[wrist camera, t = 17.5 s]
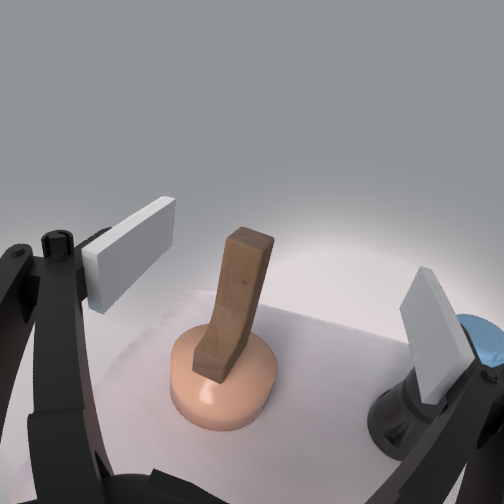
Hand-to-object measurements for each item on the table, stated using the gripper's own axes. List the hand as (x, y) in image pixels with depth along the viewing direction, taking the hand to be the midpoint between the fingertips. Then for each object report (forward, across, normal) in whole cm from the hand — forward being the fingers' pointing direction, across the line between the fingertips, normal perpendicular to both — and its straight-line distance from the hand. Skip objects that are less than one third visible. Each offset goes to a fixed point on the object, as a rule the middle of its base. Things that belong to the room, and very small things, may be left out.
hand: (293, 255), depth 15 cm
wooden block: (+15, -5, -26) cm, 31 cm away
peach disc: (+15, -5, -34) cm, 37 cm away
